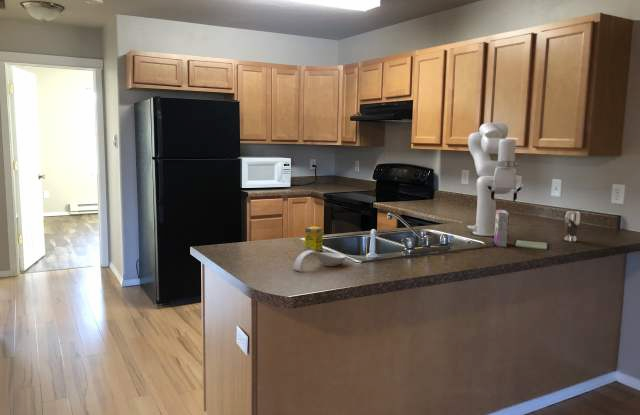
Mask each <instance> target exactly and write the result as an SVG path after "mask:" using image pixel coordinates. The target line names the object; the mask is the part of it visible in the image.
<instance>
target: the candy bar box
mask: <svg viewBox="0 0 640 415" xmlns="http://www.w3.org/2000/svg"><path fill="white" fill-rule="evenodd" d="M509 218H510V214H509V212H508V211H507V210H505V209H495V224H494V232H495V236H493V237H494V238H493V242H494V244H495V245H496V246H497V248H507V247H508V237H509V236H508V235H509V220H510V219H509Z"/></svg>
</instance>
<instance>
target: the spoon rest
mask: <svg viewBox="0 0 640 415" xmlns="http://www.w3.org/2000/svg"><path fill="white" fill-rule="evenodd" d="M310 255H313V256H314V257H315V258H316V259H317V260H318V261H319V262H320V263H321V264H322V265H323V266H326V267H336V266H339V265H340V264H342V263H343V262H344V261H345V260H346V258H347V256H346V255H345V254H341V253H335V252H315V251H312V250H307V251H305V250H304V251H303V252H301V253H300V254H299V255H298V256H297V258H296V259H295V260H294V262H293V270H294V271H297V272H301V273H302V272H303V264H304V261H305V259H306V258H307V257H308V256H310Z"/></svg>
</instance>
